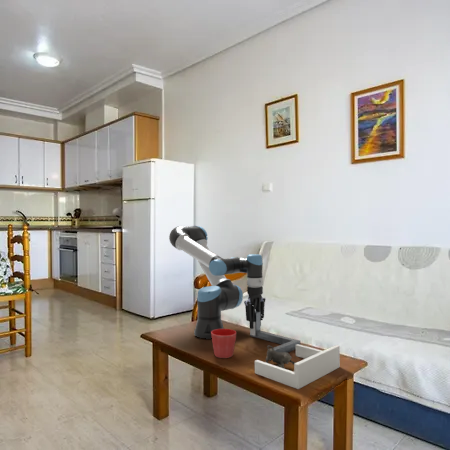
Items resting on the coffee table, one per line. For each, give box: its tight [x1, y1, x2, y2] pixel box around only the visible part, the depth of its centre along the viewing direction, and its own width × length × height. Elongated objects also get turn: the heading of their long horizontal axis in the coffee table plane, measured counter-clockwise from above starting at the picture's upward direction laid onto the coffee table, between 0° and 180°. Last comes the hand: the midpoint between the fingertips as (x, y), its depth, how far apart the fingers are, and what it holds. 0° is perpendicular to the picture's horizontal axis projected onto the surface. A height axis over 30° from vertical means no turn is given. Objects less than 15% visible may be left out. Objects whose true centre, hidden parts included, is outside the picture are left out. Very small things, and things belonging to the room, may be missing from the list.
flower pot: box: [211, 328, 237, 359], centre depth 156 cm, size 11×11×10 cm
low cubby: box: [254, 344, 341, 390], centre depth 139 cm, size 19×27×8 cm
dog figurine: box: [265, 345, 296, 369], centre depth 142 cm, size 12×6×7 cm, turn 49°
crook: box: [249, 311, 301, 354], centre depth 168 cm, size 27×19×12 cm
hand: (255, 334), depth 182 cm, fingers closed on crook, 3 cm apart
